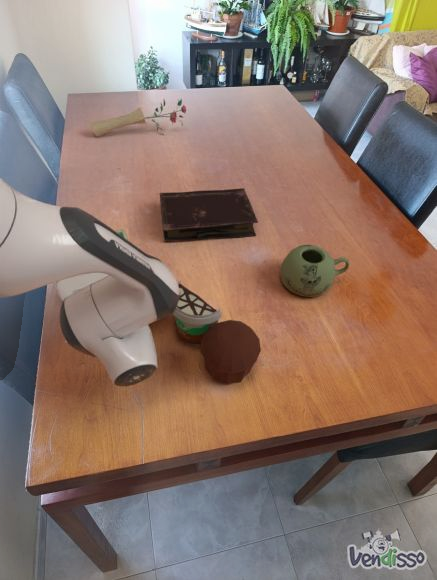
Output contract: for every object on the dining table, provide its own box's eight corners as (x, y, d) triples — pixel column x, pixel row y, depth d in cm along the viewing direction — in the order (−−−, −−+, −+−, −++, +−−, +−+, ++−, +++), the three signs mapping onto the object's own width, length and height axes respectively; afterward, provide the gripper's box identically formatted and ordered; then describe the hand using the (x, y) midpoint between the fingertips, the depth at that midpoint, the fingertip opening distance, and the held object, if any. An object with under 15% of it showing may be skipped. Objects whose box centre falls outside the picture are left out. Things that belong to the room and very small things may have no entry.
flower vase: (104, 150, 148) (188, 124, 149) (102, 156, 137) (192, 128, 139) (91, 119, 141) (179, 92, 143) (88, 122, 131) (183, 93, 133)
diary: (160, 205, 111) (159, 190, 107) (242, 200, 115) (243, 185, 111) (165, 245, 99) (163, 230, 95) (256, 238, 102) (258, 223, 99)
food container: (158, 325, 81) (155, 293, 73) (179, 309, 84) (178, 278, 76) (199, 359, 75) (199, 329, 68) (220, 341, 78) (222, 310, 71)
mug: (282, 301, 87) (289, 274, 80) (274, 263, 96) (280, 236, 89) (349, 301, 88) (361, 275, 81) (336, 263, 96) (345, 237, 90)
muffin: (244, 400, 69) (249, 372, 62) (190, 378, 72) (189, 349, 65) (263, 351, 77) (270, 321, 70) (214, 333, 80) (216, 302, 72)
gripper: (170, 282, 70) (152, 238, 79) (56, 309, 65) (50, 258, 73) (172, 304, 75) (155, 260, 84) (66, 331, 69) (59, 281, 78)
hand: (105, 259), depth 78 cm, fingers closed on robot figurine, 7 cm apart
